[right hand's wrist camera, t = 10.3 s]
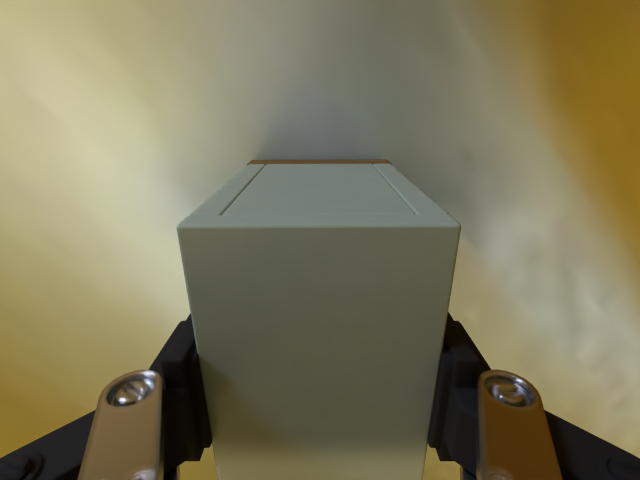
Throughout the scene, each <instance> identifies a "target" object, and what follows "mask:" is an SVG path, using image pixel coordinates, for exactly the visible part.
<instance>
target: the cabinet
mask: <svg viewBox="0 0 640 480" xmlns="http://www.w3.org/2000/svg"><path fill="white" fill-rule="evenodd" d="M460 230H461V225H460V223H459V222H457V221H456V220H455V219H454V218H453V217H452V216H450V215H449V214H448V213H447V212H446V211H445V210H444V209H443V208H442V207H440V206H439V205H438V204H437V203H436V202H434V201H433V200H432V199H431V198H430V197H429V196H427V195H426V194H425V193H424V192H423V191H422V190H420V189H419V188H418V187H417V186H416V185H415V184H413V183H412V182H411V181H410V180H409V179H407V178H406V177H405V176H404V175H403V174H402V173H400V172H399V171H398V170H397V169H396V168H395V167H393V166H392V165H391V163H390V162H389V161H388V160H252V161H251V162H249V163H248V164H247V166H246V167H245V168H244V169H243V170H242V171H240V172H239V173H238V174H237V175H236V176H235V177H233V178H232V179H231V180H230V181H229V182H228V183H226V184H225V185H224V186H223V187H222V188H220V189H219V190H218V191H217V192H216V193H215V194H213V195H212V196H211V197H210V198H209V199H208V200H206V201H205V202H204V203H203V204H202V205H200V206H199V207H198V208H197V209H196V210H195V211H193V212H192V213H191V214H190V216H188V217H186V218H185V219H184V220H183V221H182V222H181V223H179V224H178V225H177V232H178V238H179V245H180V251H181V257H182V263H183V269H184V275H185V281H186V287H187V293H188V299H189V305H190V311H191V317H192V323H193V329H194V335H195V341H196V347H197V353H198V356H199V362H200V368H201V375H202V381H203V387H204V393H205V400H206V406H207V412H208V418H209V425H210V431H211V437H212V444H213V450H214V456H215V462H216V468H217V474H218V480H422V477H423V470H424V464H425V457H426V451H427V444H428V435H429V429H430V423H431V416H432V410H433V404H434V397H435V391H436V385H437V378H438V372H439V366H440V359H441V353H442V347H443V340H444V334H445V327H446V321H447V314H448V308H449V301H450V295H451V288H452V282H453V275H454V269H455V262H456V256H457V249H458V243H459V237H460Z"/></svg>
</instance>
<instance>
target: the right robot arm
mask: <svg viewBox="0 0 640 480" xmlns="http://www.w3.org/2000/svg"><path fill="white" fill-rule="evenodd" d="M211 443H212V437H211V431H210V425H209V418H208V412H207V406H206V400H205V393H204V387H203V381H202V375H201V368H200V362H199V356H198V353H197V347H196V341H195V335H194V329H193V323H192V317H191V313H190V315H189V316H188V318H187V320H186V321H181V322H180V323H179V324H178V326H177V327H176V329H175V330H174V332H173V333H172V335H171V336H170V338H169V339H168V341H167V342H166V344H165V345H164V347H163V348H162V350H161V351H160V353H159V354H158V356H157V357H156V359H155V360H154V362H153V363H152V365H151V367H150V368H149V370H137V371H132V372H129V373H126V374H124V375H122V376H120V377H118V378H116V379H115V380H113V381H112V382H111V383H109V384H108V385H107V386H106V387H105V388H104V389H103V391H102V393H101V395H100V397H99V400H98V404H97V408H96V410H95V411H93V412H91V413H89V414H87V415H85V416H83V417H81V418H79V419H77V420H75V421H73V422H71V423H69V424H67V425H65V426H63V427H61V428H59V429H57V430H55V431H53V432H51V433H49V434H47V435H45V436H43V437H41V438H39V439H37V440H35V441H33V442H31V443H29V444H27V445H25V446H23V447H21V448H19V449H17V450H15V451H13V452H11V453H10V454H8V455H6V456H4V457H2V458H1V459H0V480H180V467H179V465H180V464H182V463H183V462H184V461H200V459H201V456H202V453H203V450H204V448H209V447H210V446H211ZM428 444H429V446H430V447H431V448H436V451H437V454H438V457H439V460H440V461H455V462H457V463H458V464H460V465H461V467H460V480H640V459H639V458H638V457H636V456H634V455H632V454H630V453H628V452H626V451H624V450H622V449H620V448H618V447H616V446H615V445H613V444H611V443H609V442H607V441H605V440H603V439H601V438H599V437H597V436H595V435H593V434H591V433H589V432H587V431H585V430H583V429H581V428H579V427H577V426H575V425H573V424H571V423H569V422H567V421H565V420H563V419H561V418H559V417H557V416H555V415H553V414H551V413H549V412H547V411H545V410H544V408H543V404H542V400H541V397H540V395H539V393H538V391H537V389H536V388H535V387H534V386H533V385H532V384H531V383H529V382H528V381H527V380H525V379H524V378H522V377H520V376H518V375H516V374H514V373H511V372H508V371H503V370H491V368H490V367H489V365H488V364H487V362H486V361H485V359H484V358H483V356H482V355H481V353H480V352H479V350H478V349H477V347H476V346H475V344H474V343H473V341H472V340H471V338H470V337H469V335H468V334H467V332H466V331H465V329H464V328H463V326H462V325H461V323H460V322H459V321H454V320H453V318H452V317H451V315H450V314H449V312H448V314H447V321H446V327H445V334H444V340H443V347H442V353H441V359H440V366H439V372H438V378H437V385H436V391H435V397H434V404H433V410H432V416H431V423H430V429H429V435H428Z"/></svg>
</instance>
